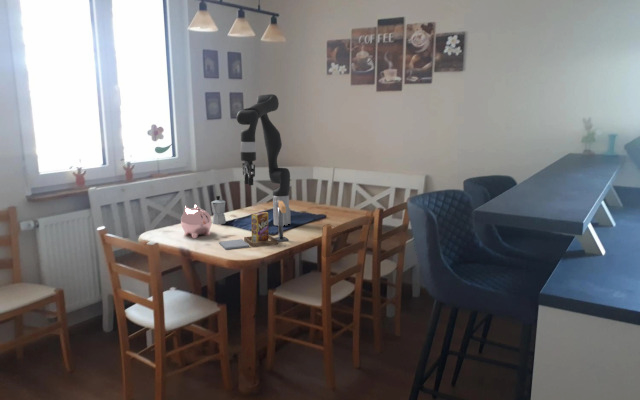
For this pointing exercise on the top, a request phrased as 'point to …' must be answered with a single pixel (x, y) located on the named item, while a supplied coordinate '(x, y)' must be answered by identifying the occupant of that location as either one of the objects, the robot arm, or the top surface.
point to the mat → (233, 244)
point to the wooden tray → (261, 243)
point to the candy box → (260, 227)
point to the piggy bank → (196, 221)
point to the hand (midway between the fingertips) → (248, 184)
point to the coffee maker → (218, 211)
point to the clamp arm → (281, 206)
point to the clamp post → (280, 227)
